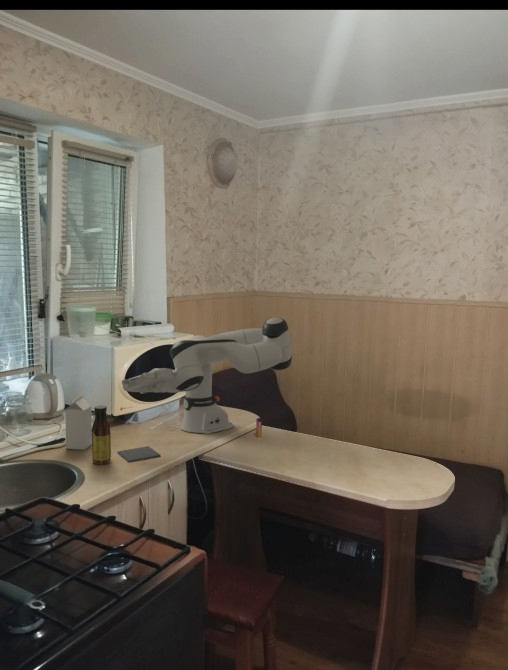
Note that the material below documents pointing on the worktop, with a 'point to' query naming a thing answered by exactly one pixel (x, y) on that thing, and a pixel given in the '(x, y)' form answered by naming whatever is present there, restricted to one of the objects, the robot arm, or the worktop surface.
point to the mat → (138, 454)
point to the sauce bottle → (101, 437)
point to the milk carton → (78, 424)
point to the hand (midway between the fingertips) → (133, 378)
